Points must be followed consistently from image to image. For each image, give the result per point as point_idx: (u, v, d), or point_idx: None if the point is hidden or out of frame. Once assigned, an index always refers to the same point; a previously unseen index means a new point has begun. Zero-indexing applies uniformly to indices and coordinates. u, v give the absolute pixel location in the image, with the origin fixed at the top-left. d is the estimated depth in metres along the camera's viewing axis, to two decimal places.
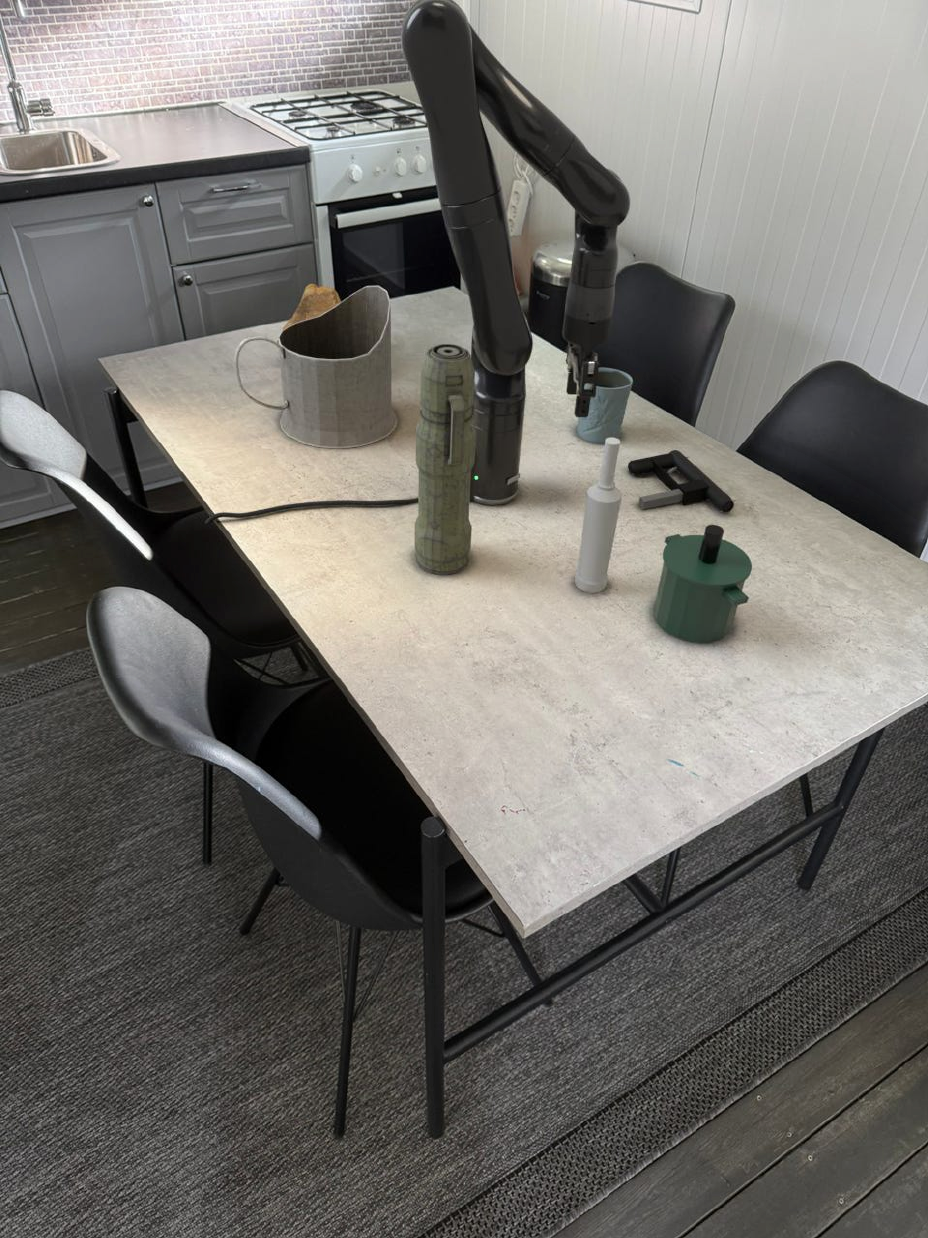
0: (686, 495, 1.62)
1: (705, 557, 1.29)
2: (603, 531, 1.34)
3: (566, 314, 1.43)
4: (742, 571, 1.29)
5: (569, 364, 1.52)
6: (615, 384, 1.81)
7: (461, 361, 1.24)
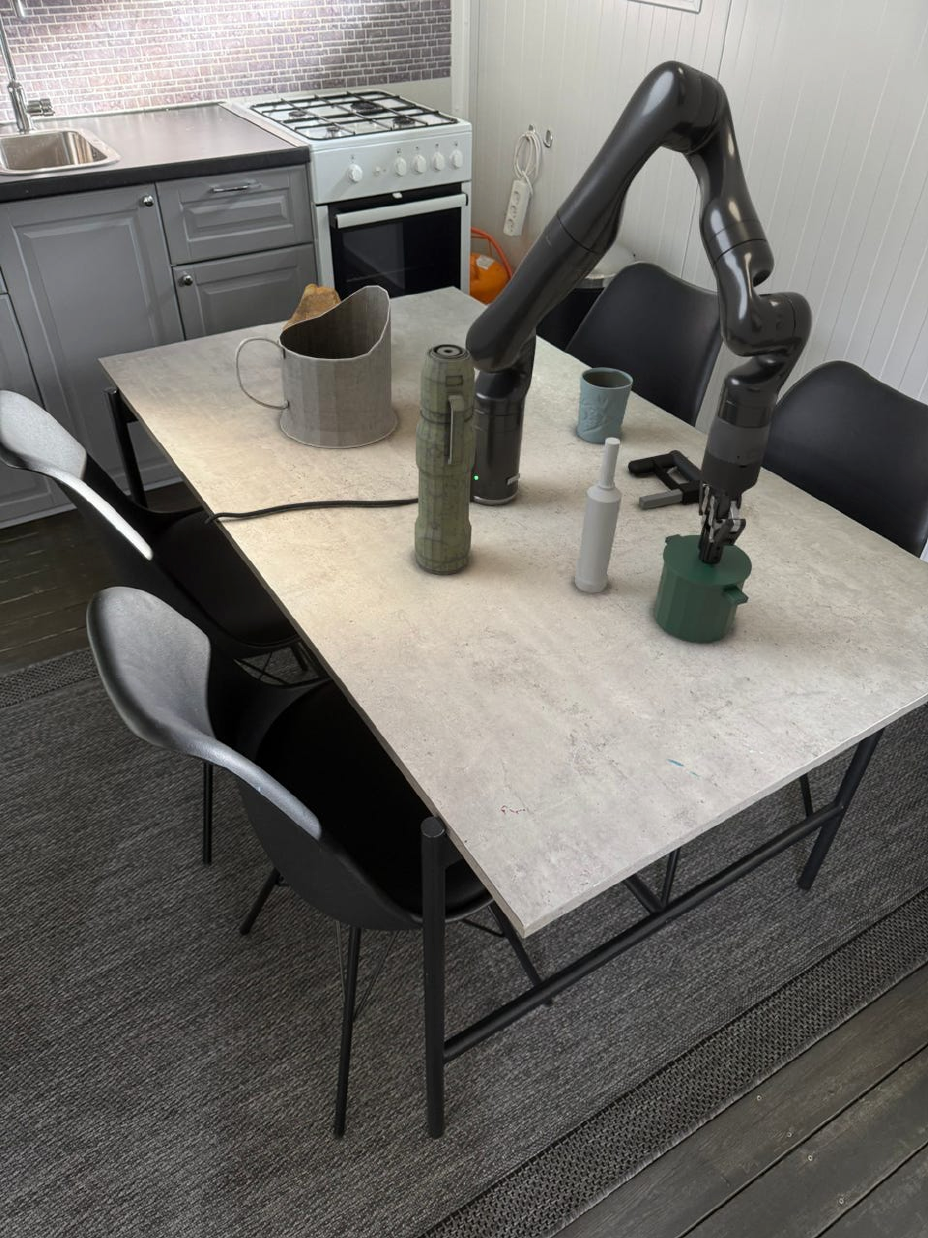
0: (686, 495, 1.62)
1: None
2: (603, 531, 1.34)
3: (709, 453, 1.19)
4: (742, 571, 1.29)
5: (705, 512, 1.27)
6: (615, 384, 1.81)
7: (461, 361, 1.24)
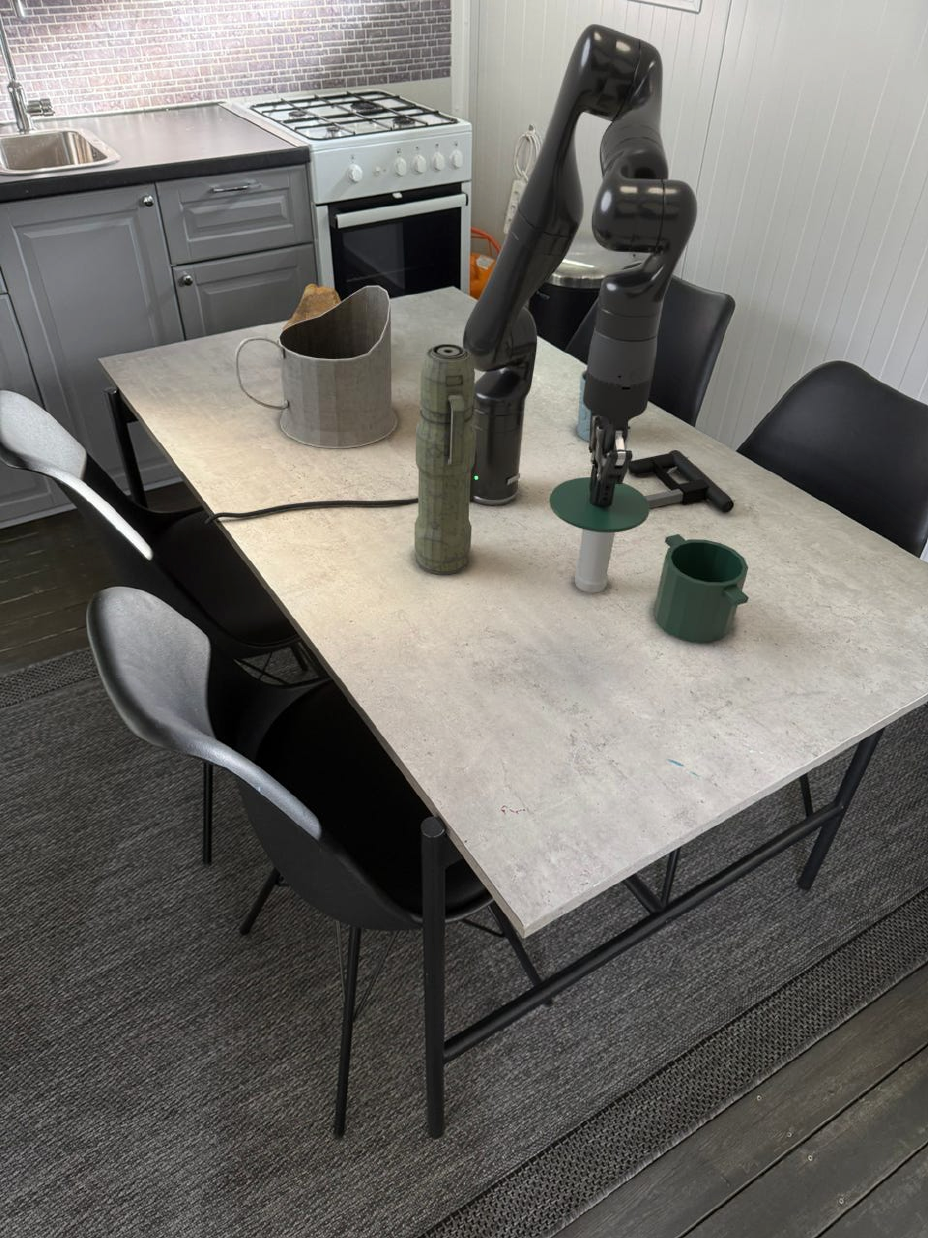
0: (686, 495, 1.62)
1: None
2: None
3: (589, 374, 1.03)
4: (637, 514, 1.13)
5: (593, 446, 1.11)
6: None
7: (461, 361, 1.24)
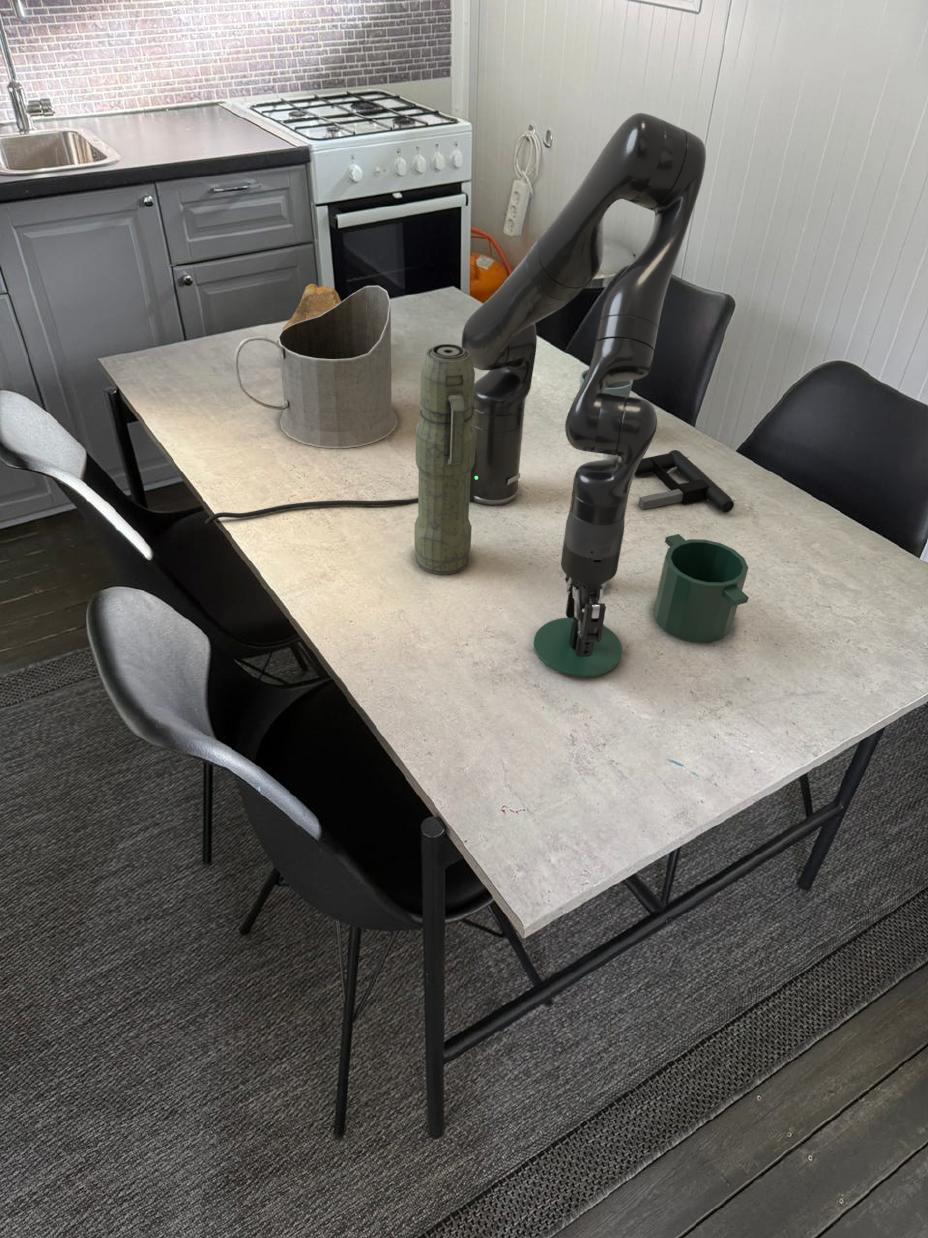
0: (686, 495, 1.62)
1: (574, 644, 1.28)
2: None
3: (565, 546, 1.18)
4: (611, 658, 1.28)
5: (569, 590, 1.27)
6: (615, 384, 1.81)
7: (461, 361, 1.24)
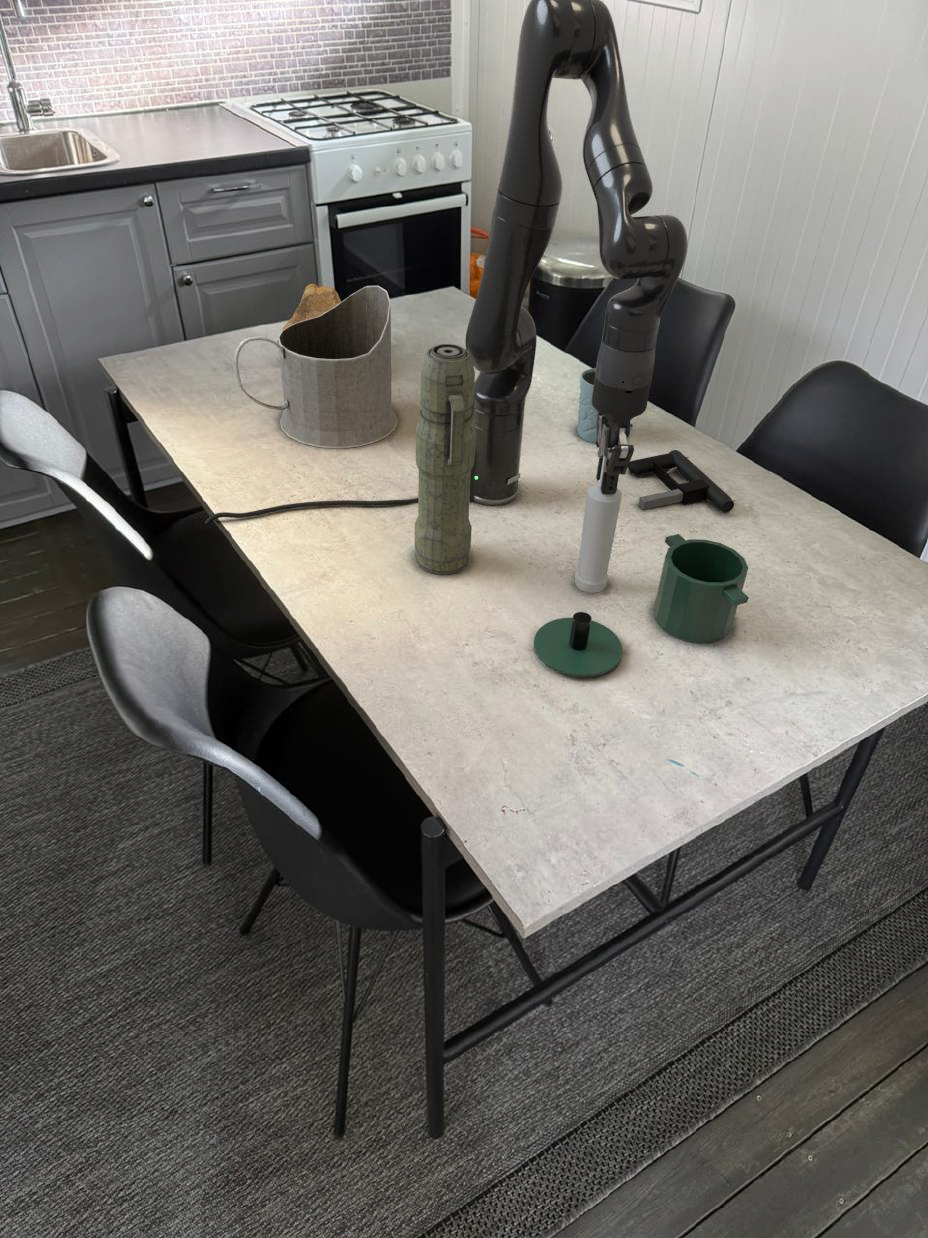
0: (686, 495, 1.62)
1: (574, 644, 1.28)
2: (603, 531, 1.34)
3: (597, 380, 1.21)
4: (611, 658, 1.28)
5: (600, 442, 1.29)
6: None
7: (461, 361, 1.24)
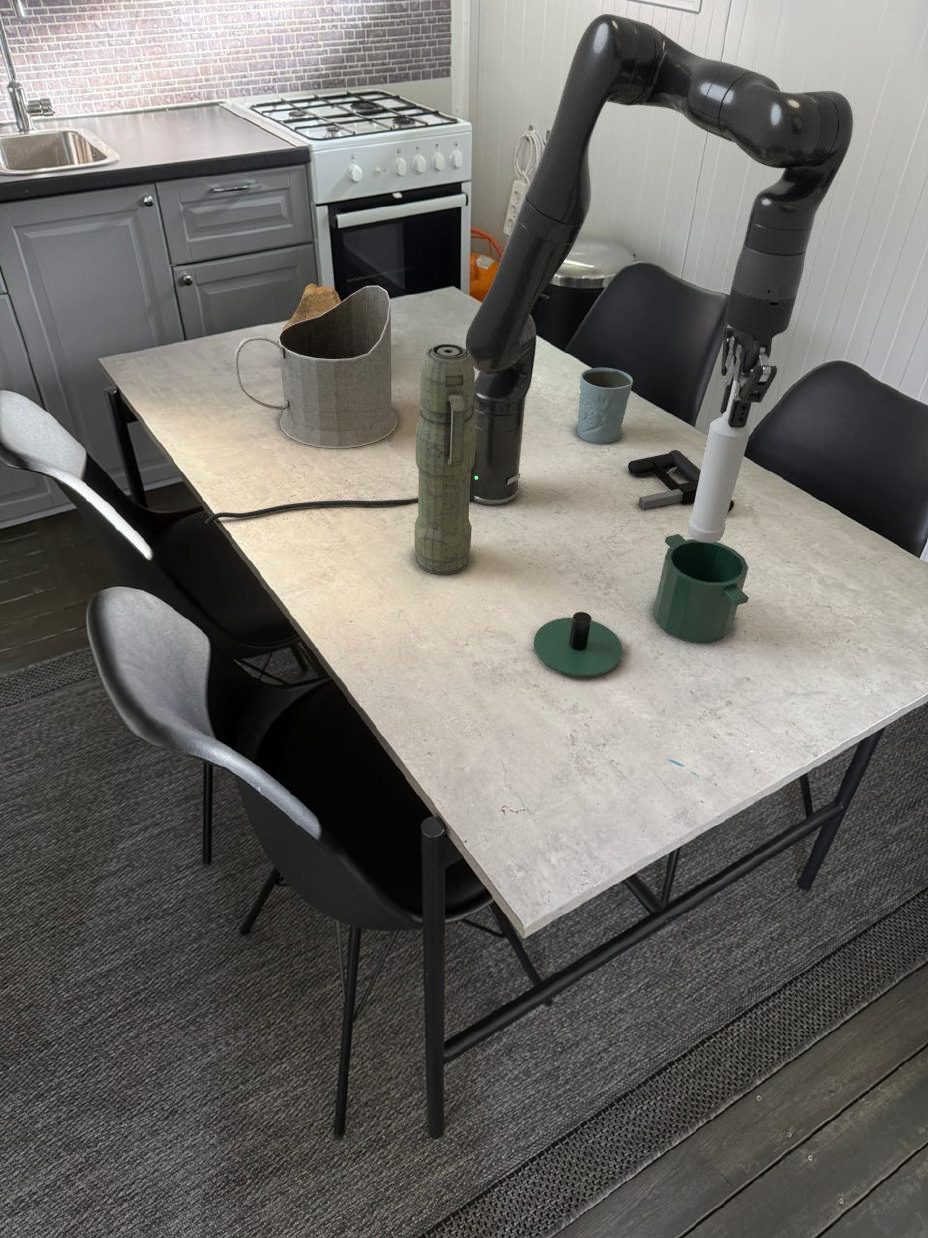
0: (686, 495, 1.62)
1: (574, 644, 1.28)
2: (728, 470, 1.20)
3: (736, 292, 1.06)
4: (611, 658, 1.28)
5: (730, 367, 1.14)
6: (615, 384, 1.81)
7: (461, 361, 1.24)
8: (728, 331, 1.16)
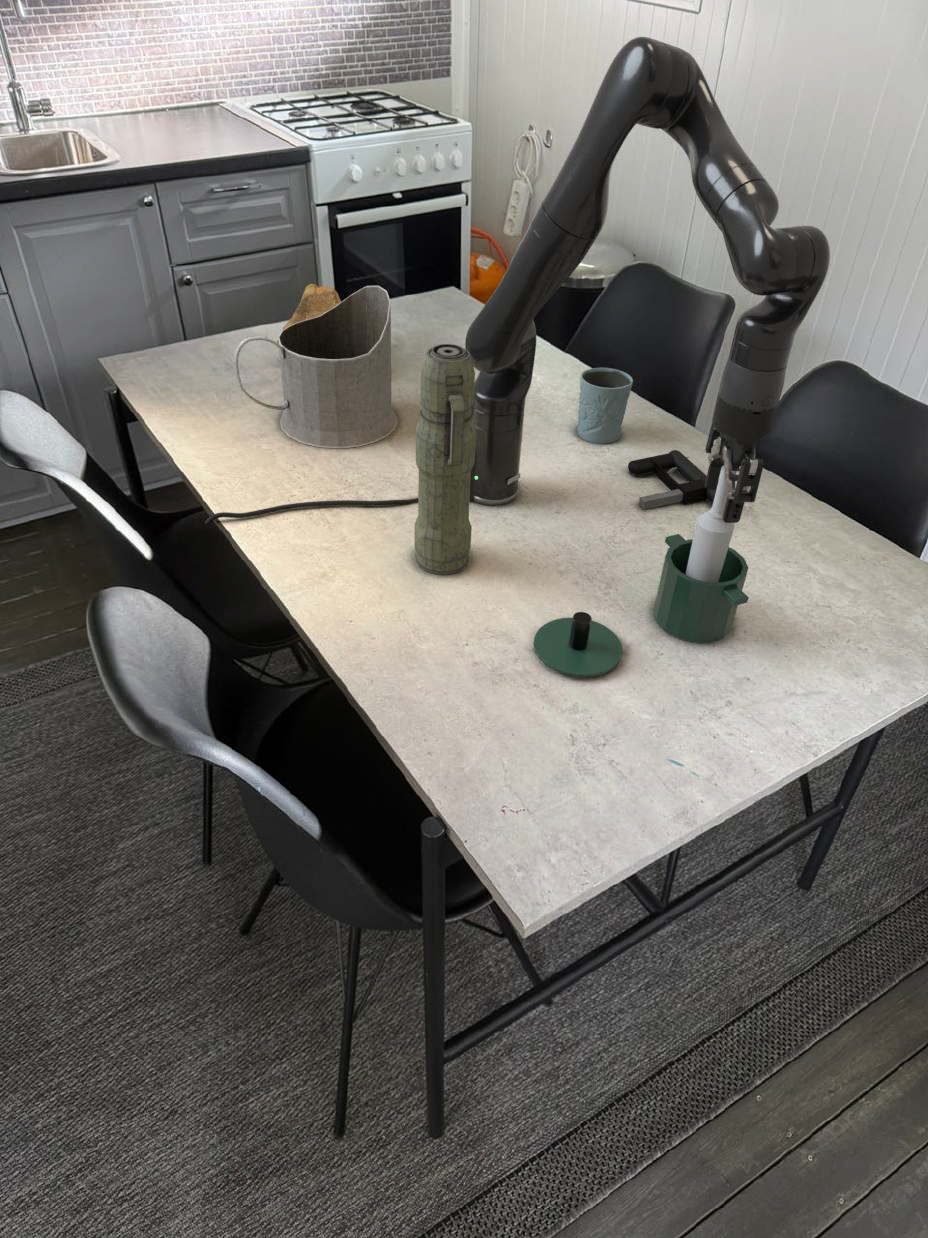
0: (686, 495, 1.62)
1: (574, 644, 1.28)
2: (713, 562, 1.28)
3: (722, 400, 1.14)
4: (611, 658, 1.28)
5: (714, 456, 1.23)
6: (615, 384, 1.81)
7: (461, 361, 1.24)
8: None
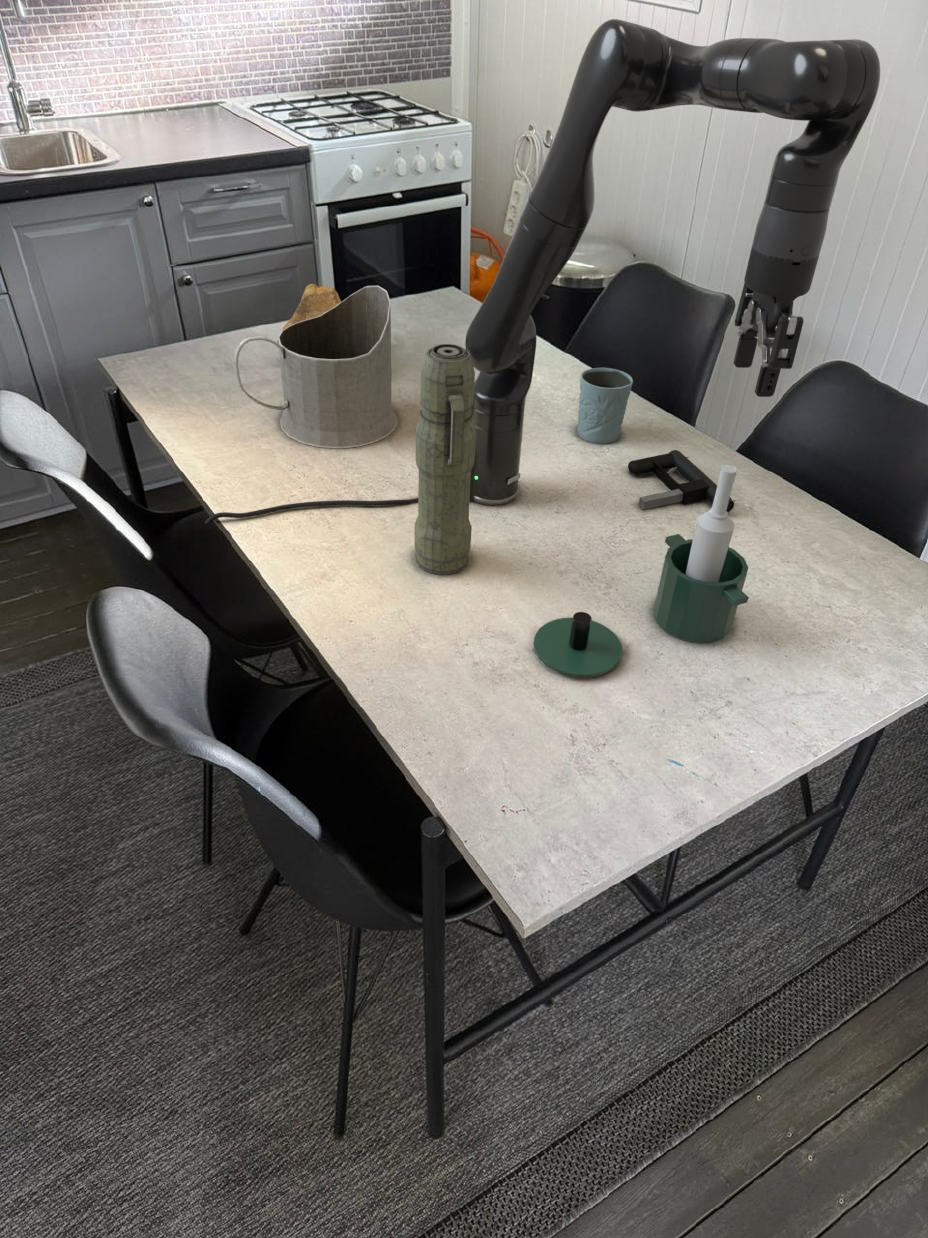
0: (686, 495, 1.62)
1: (574, 644, 1.28)
2: (713, 562, 1.28)
3: (756, 252, 1.03)
4: (611, 658, 1.28)
5: (745, 325, 1.12)
6: (615, 384, 1.81)
7: (461, 361, 1.24)
8: None
